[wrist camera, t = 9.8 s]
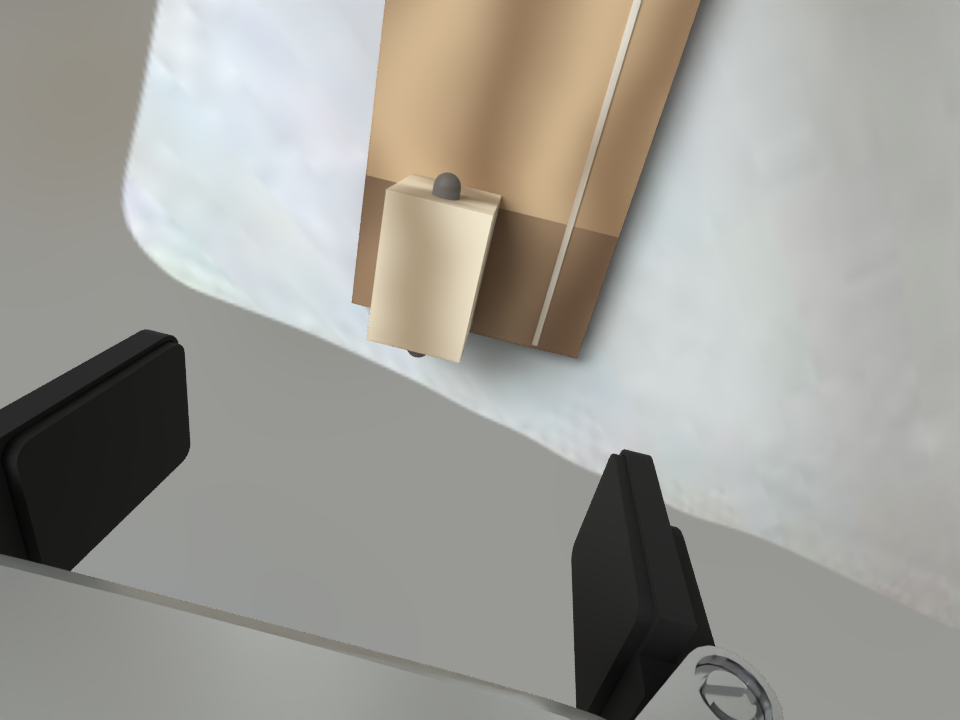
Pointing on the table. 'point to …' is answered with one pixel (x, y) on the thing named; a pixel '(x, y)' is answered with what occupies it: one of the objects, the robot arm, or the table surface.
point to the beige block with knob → (430, 264)
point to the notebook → (524, 139)
